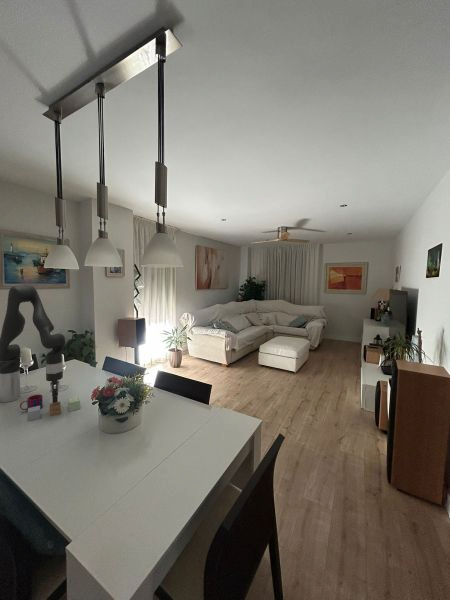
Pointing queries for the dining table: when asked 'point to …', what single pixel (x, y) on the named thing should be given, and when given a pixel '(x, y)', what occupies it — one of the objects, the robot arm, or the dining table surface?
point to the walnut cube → (55, 408)
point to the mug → (33, 401)
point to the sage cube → (74, 404)
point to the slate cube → (33, 413)
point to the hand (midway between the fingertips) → (54, 399)
